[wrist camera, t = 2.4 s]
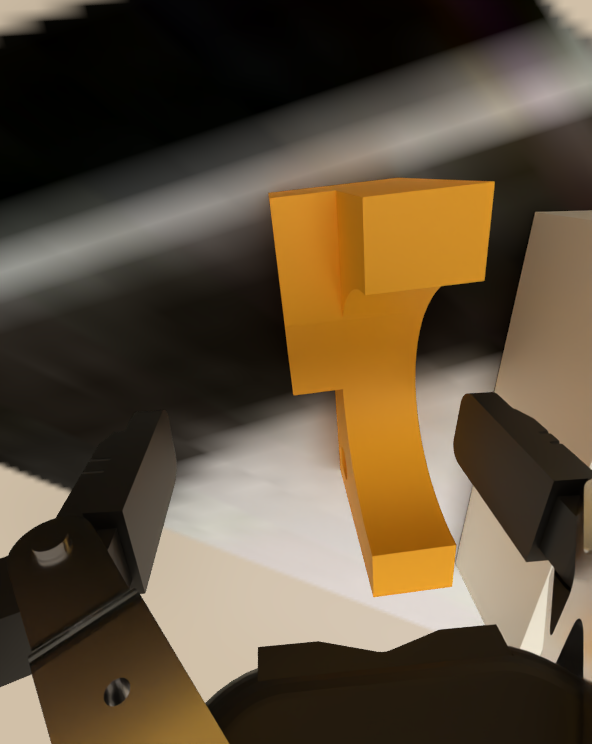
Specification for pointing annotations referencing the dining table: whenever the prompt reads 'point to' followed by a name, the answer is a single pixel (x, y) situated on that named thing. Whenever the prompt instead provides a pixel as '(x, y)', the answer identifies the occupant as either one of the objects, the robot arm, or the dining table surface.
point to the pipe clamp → (378, 344)
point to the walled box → (537, 413)
